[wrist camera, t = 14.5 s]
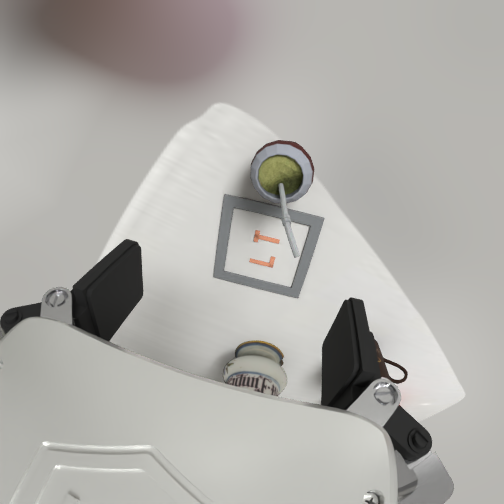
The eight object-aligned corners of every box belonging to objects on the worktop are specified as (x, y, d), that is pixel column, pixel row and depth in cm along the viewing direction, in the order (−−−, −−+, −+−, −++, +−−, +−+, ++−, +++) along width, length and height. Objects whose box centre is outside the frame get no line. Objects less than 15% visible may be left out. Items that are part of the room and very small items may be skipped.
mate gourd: (272, 127, 32) (251, 137, 19) (327, 156, 33) (344, 186, 20) (248, 177, 36) (214, 218, 23) (300, 204, 36) (297, 260, 23)
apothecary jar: (290, 375, 54) (280, 450, 38) (235, 372, 57) (215, 442, 41) (288, 336, 48) (276, 423, 33) (225, 334, 51) (196, 414, 35)
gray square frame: (298, 297, 44) (298, 298, 43) (213, 275, 45) (213, 276, 44) (324, 217, 37) (324, 218, 36) (225, 194, 38) (224, 194, 37)
